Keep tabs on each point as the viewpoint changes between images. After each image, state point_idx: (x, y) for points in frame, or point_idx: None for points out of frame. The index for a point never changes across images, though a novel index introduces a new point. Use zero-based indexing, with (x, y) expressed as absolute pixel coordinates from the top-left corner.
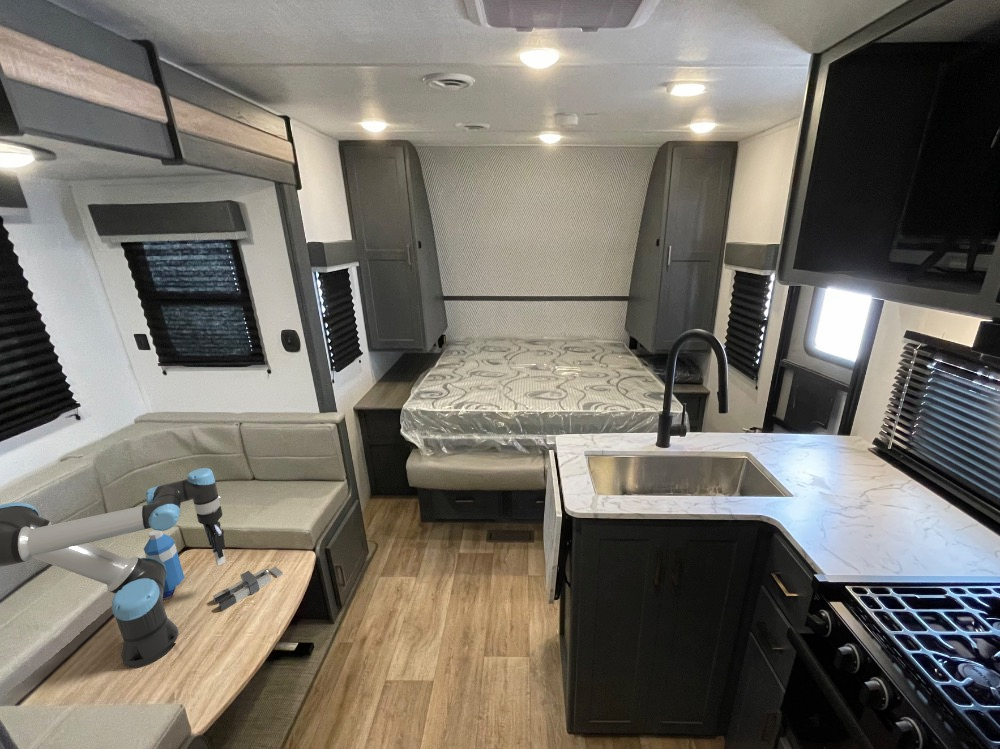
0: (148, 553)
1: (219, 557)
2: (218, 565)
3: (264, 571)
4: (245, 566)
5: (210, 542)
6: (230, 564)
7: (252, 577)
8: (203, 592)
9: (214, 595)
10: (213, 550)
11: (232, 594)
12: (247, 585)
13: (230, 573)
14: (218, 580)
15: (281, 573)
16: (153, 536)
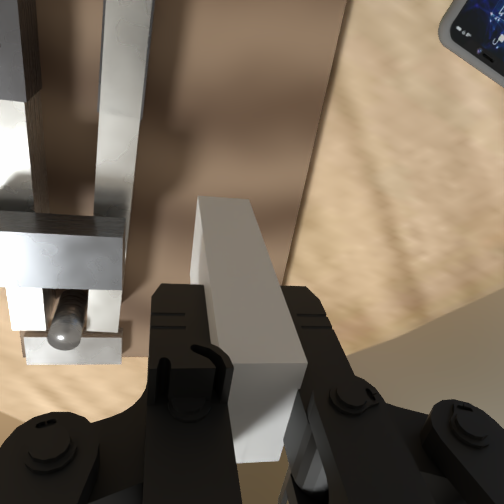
0: None
1: (152, 296)
2: (198, 199)
3: (63, 330)
4: (313, 276)
5: (476, 489)
6: (409, 243)
7: (3, 272)
8: (355, 25)
9: (146, 9)
10: (225, 378)
11: (19, 96)
12: (32, 209)
13: (343, 208)
14: (360, 141)
15: (26, 356)
16: None
